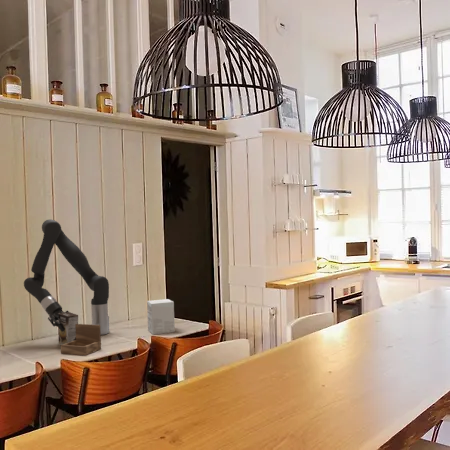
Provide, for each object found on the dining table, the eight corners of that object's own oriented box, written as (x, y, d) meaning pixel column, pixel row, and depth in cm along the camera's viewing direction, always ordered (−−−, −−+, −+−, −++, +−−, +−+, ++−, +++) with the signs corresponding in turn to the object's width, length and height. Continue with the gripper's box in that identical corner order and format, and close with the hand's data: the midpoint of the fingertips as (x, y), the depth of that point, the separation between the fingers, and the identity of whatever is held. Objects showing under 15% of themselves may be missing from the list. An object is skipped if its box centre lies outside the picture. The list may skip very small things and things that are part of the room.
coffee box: (57, 343, 256) (57, 313, 256) (68, 341, 261) (68, 311, 260) (67, 347, 251) (67, 316, 250) (78, 344, 255) (78, 314, 255)
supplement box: (169, 327, 292) (168, 298, 292) (175, 332, 279) (174, 301, 279) (147, 330, 287) (146, 300, 287) (152, 334, 275) (151, 303, 275)
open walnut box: (77, 347, 251) (76, 323, 251) (101, 348, 246) (100, 325, 246) (61, 353, 239) (60, 328, 239) (85, 355, 234) (84, 330, 234)
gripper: (45, 303, 252) (64, 326, 248) (64, 299, 265) (82, 321, 261) (37, 313, 254) (56, 336, 250) (56, 308, 267) (74, 330, 263)
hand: (69, 328), depth 256 cm, fingers closed on coffee box, 8 cm apart
